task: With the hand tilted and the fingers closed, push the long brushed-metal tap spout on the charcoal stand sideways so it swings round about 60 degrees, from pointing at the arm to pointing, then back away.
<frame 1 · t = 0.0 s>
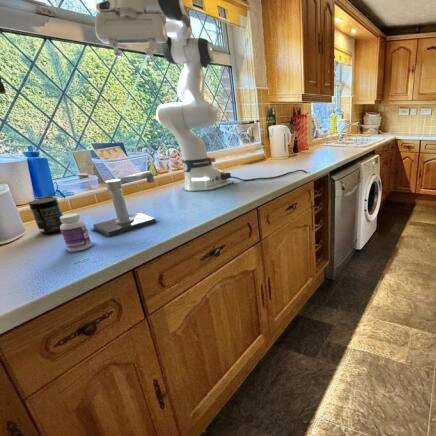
hand: (134, 55, 95), 52 cm above the countertop, tool tilted 20°, fingers open, 8 cm apart
tap stand: (125, 225, 100), on the countertop
spout: (132, 181, 102), point 13 cm above the countertop, hinge at 0.0°
pill bottle: (80, 248, 85), on the countertop
supplement container: (54, 232, 97), on the countertop
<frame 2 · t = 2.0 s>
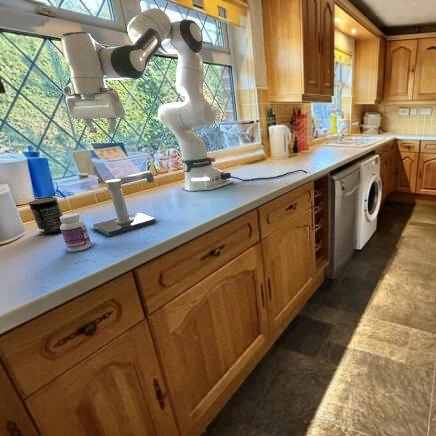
hand: (103, 132, 103), 29 cm above the countertop, tool pointing down, fingers open, 7 cm apart
nothing on the countertop moved.
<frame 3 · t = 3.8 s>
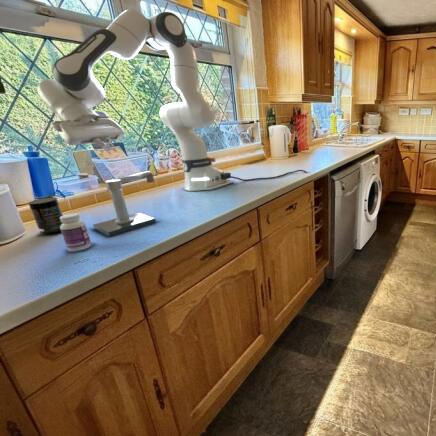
hand: (110, 148, 106), 24 cm above the countertop, tool tilted 45°, fingers closed
nothing on the countertop moved.
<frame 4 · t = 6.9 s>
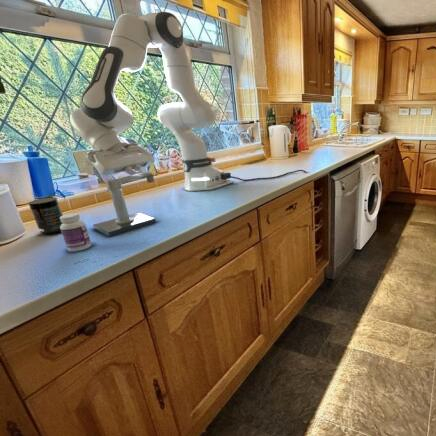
hand: (141, 176, 107), 14 cm above the countertop, tool tilted 45°, fingers closed, pressing on spout
spout: (132, 181, 102), point 13 cm above the countertop, hinge at -0.1°, touching gripper
everything else where it was.
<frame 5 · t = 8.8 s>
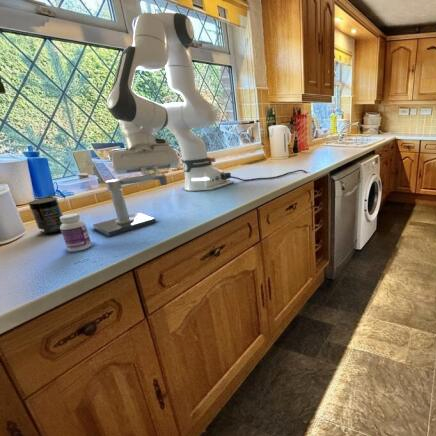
hand: (152, 179, 103), 14 cm above the countertop, tool tilted 45°, fingers closed, pressing on spout
spout: (138, 182, 99), point 13 cm above the countertop, hinge at -35.3°, touching gripper
everything else where it was.
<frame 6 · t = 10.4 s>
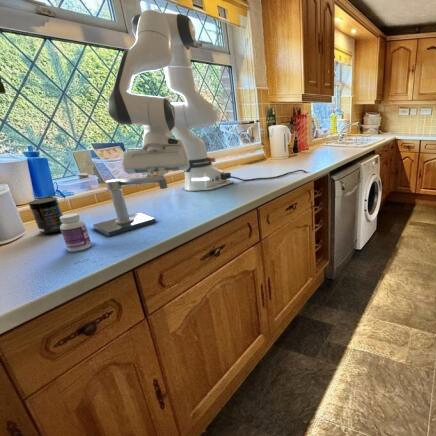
hand: (156, 181, 100), 14 cm above the countertop, tool tilted 45°, fingers closed, pressing on spout
spout: (137, 184, 97), point 13 cm above the countertop, hinge at -59.9°, touching gripper
everything else where it was.
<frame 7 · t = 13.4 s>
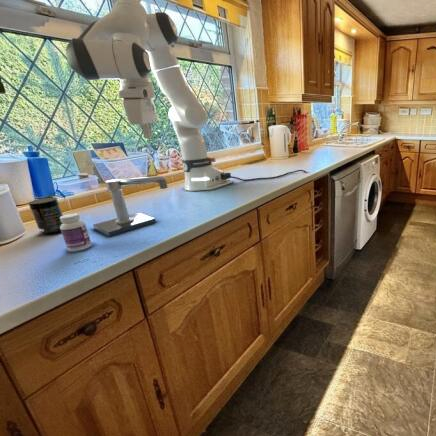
hand: (148, 138, 100), 27 cm above the countertop, tool pointing down, fingers closed
spout: (137, 184, 97), point 13 cm above the countertop, hinge at -60.0°
everything else where it was.
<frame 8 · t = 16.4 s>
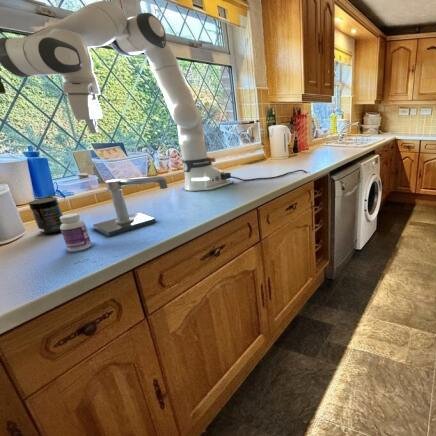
hand: (94, 133, 102), 29 cm above the countertop, tool pointing down, fingers closed
nothing on the countertop moved.
at the end: spout at -60° (first picture: +0°) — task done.
